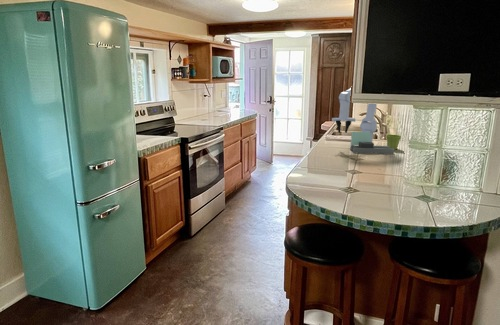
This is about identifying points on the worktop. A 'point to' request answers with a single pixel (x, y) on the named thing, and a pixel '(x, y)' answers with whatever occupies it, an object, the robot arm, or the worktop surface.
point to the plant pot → (393, 140)
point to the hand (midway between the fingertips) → (342, 132)
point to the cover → (359, 137)
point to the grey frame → (373, 149)
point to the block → (366, 145)
